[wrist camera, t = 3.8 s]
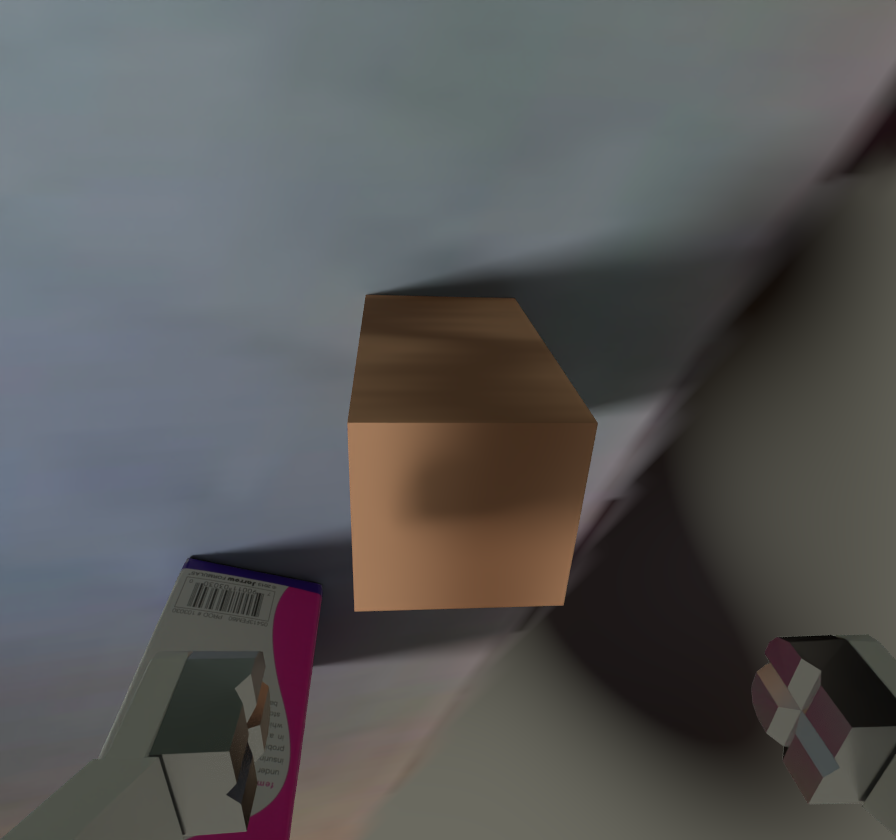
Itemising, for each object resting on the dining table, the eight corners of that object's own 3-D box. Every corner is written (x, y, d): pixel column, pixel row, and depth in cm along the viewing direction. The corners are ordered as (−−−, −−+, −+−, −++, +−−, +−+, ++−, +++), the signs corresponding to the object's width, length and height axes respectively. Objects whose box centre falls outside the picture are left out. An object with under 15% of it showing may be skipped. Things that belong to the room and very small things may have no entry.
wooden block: (368, 427, 21) (354, 611, 14) (365, 294, 19) (347, 422, 11) (501, 427, 22) (563, 604, 14) (514, 298, 20) (597, 423, 12)
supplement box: (165, 653, 26) (21, 997, 16) (186, 553, 23) (31, 886, 13) (295, 674, 27) (238, 1004, 17) (327, 582, 25) (284, 904, 15)
